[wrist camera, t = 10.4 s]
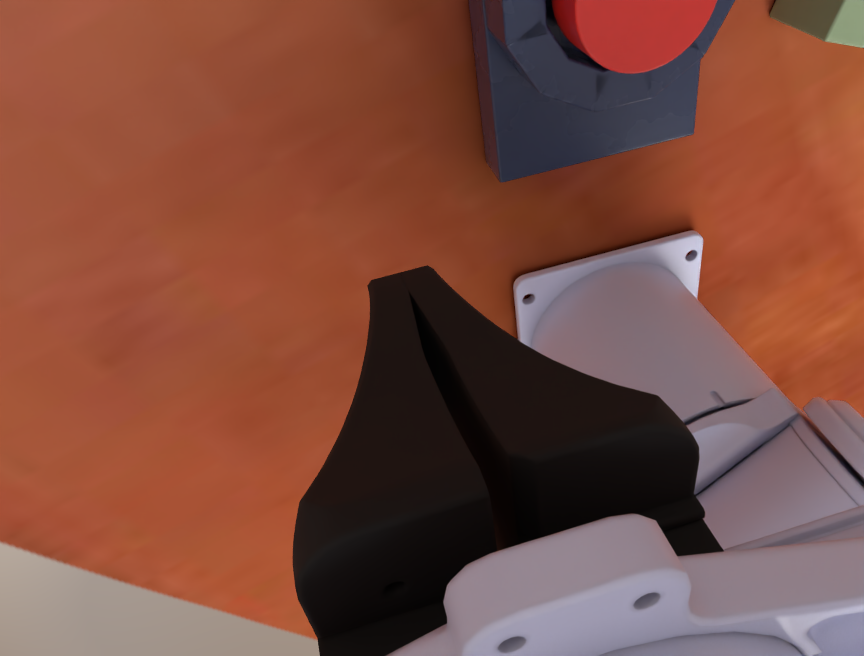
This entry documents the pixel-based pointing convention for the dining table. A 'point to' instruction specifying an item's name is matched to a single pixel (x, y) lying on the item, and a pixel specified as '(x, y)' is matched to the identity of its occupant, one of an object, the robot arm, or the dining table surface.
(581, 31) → the button
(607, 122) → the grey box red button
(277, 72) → the dining table surface
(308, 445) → the dining table surface
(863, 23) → the green toggle switch panel
